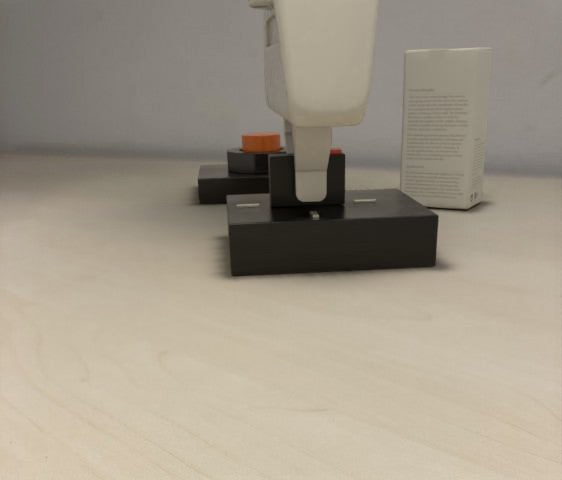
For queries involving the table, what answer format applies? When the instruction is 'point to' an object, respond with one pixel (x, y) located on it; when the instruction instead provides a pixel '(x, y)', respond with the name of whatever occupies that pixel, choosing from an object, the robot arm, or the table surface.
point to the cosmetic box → (445, 125)
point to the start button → (261, 142)
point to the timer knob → (284, 180)
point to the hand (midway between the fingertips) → (306, 194)
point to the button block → (235, 176)
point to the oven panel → (330, 234)
